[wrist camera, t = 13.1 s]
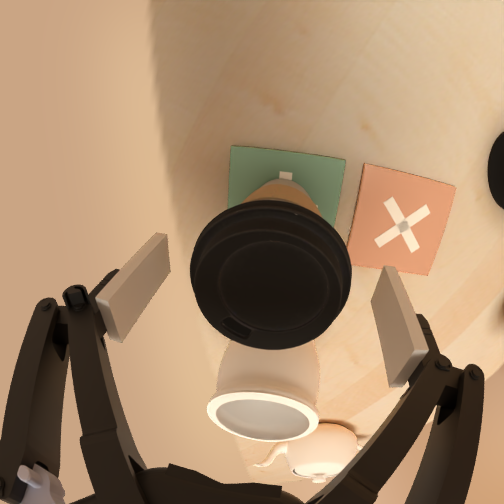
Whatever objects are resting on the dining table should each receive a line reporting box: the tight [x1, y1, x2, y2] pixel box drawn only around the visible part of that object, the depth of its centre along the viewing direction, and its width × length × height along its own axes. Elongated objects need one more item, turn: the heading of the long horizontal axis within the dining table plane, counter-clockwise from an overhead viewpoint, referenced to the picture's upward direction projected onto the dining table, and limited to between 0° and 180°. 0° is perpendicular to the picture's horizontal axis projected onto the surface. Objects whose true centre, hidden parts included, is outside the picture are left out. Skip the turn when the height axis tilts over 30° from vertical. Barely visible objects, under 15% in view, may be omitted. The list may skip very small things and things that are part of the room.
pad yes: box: [228, 145, 346, 228], centre depth 28 cm, size 11×11×1 cm
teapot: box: [254, 423, 363, 483], centre depth 44 cm, size 25×16×12 cm, turn 84°
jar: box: [207, 340, 320, 442], centre depth 29 cm, size 11×10×15 cm
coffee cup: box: [190, 178, 352, 350], centre depth 21 cm, size 10×9×15 cm
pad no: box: [347, 163, 456, 276], centre depth 27 cm, size 11×11×1 cm
